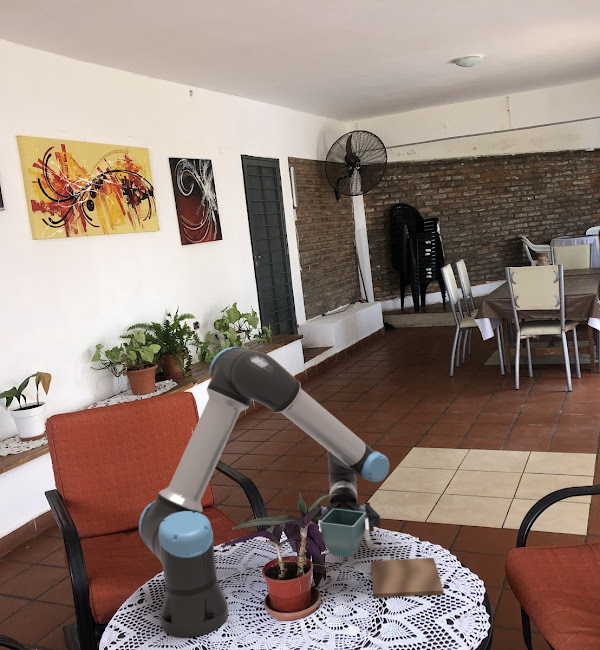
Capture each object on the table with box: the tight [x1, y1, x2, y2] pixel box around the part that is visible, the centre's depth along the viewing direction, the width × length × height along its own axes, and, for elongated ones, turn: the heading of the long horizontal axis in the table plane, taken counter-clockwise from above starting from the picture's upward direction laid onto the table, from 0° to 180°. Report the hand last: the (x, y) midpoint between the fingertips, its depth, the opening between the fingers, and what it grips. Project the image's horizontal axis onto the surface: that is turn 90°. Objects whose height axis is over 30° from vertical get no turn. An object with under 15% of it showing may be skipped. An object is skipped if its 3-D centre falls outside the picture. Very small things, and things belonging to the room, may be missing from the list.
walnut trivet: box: [370, 557, 444, 599], centre depth 163 cm, size 16×16×1 cm
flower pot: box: [320, 509, 366, 559], centre depth 161 cm, size 9×9×9 cm
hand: (343, 536), depth 157 cm, fingers closed on flower pot, 10 cm apart
